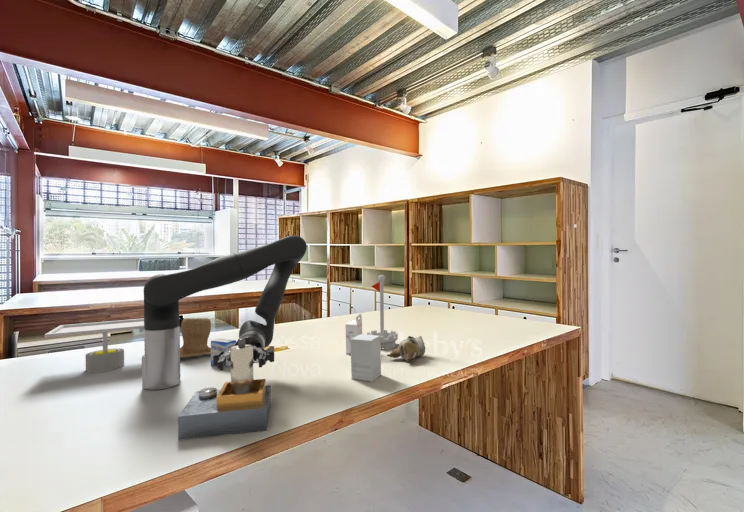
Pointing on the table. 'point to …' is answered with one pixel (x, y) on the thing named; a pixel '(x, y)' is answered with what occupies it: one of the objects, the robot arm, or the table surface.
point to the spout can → (242, 368)
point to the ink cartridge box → (352, 331)
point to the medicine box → (221, 347)
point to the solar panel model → (105, 357)
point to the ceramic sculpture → (409, 349)
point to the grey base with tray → (225, 412)
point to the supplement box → (365, 357)
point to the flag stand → (385, 338)
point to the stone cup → (195, 337)
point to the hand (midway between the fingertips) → (241, 364)
